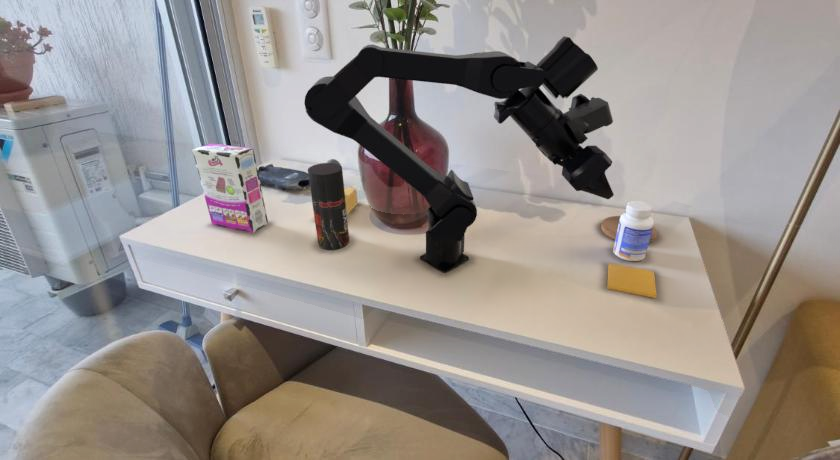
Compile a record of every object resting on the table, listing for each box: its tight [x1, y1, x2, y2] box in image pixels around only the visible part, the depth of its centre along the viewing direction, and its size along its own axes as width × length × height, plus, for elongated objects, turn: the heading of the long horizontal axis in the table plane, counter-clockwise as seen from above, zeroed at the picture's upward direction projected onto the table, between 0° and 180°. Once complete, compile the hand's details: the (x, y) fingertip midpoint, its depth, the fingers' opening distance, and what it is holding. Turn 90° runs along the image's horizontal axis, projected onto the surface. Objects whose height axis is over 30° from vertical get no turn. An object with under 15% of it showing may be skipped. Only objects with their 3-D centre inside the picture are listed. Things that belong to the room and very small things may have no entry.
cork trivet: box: [600, 215, 658, 244], centre depth 86 cm, size 10×10×1 cm
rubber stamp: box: [326, 158, 359, 216], centre depth 93 cm, size 10×6×12 cm, turn 167°
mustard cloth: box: [606, 263, 657, 299], centre depth 71 cm, size 7×7×1 cm
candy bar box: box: [191, 143, 269, 234], centre depth 87 cm, size 11×5×16 cm, turn 68°
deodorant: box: [307, 162, 350, 251], centre depth 80 cm, size 6×6×15 cm
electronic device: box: [257, 163, 310, 192], centre depth 109 cm, size 9×6×15 cm
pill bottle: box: [612, 200, 655, 262], centre depth 76 cm, size 5×5×10 cm
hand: (599, 185), depth 72 cm, fingers open, 9 cm apart
